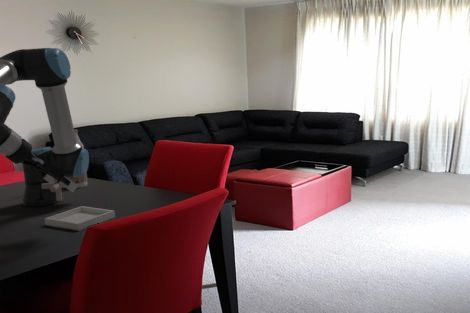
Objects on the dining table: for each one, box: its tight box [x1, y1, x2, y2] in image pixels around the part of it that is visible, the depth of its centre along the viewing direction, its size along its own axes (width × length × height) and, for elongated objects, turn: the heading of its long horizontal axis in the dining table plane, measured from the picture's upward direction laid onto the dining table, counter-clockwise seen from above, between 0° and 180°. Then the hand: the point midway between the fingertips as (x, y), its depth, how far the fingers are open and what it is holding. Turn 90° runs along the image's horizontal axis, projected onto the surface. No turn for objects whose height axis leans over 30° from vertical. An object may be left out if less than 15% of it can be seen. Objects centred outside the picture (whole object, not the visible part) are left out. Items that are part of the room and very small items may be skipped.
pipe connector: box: [41, 179, 66, 202], centre depth 148 cm, size 10×10×10 cm
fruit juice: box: [67, 128, 88, 189], centre depth 219 cm, size 9×9×28 cm
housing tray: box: [44, 205, 116, 232], centre depth 162 cm, size 17×17×2 cm
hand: (67, 187), depth 151 cm, fingers closed on pipe connector, 8 cm apart
